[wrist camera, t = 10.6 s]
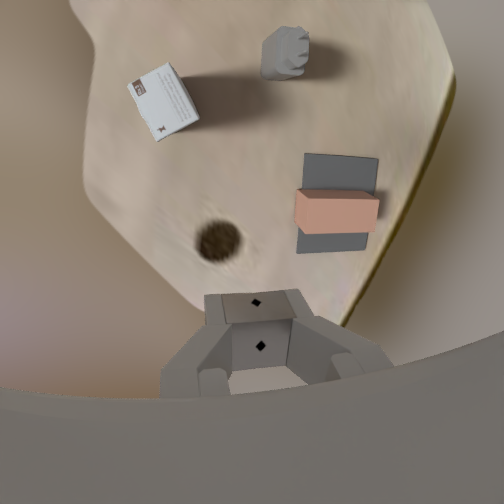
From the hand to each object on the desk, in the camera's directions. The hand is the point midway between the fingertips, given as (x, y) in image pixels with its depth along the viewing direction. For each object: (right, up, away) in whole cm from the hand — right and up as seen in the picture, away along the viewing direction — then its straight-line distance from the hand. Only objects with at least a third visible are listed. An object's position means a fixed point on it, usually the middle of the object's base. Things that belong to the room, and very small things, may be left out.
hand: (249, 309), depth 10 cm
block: (+6, +7, +30) cm, 31 cm away
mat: (+12, +8, +33) cm, 36 cm away
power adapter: (+3, +25, +24) cm, 35 cm away
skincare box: (-9, +19, +24) cm, 32 cm away
